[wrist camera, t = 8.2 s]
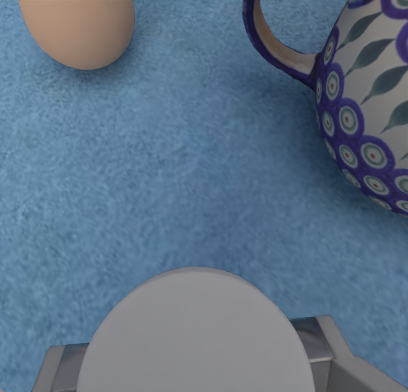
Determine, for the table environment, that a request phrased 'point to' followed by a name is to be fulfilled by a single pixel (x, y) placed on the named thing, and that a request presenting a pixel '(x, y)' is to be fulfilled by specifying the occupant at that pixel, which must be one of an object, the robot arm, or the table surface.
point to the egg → (81, 29)
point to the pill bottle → (196, 339)
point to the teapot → (355, 92)
